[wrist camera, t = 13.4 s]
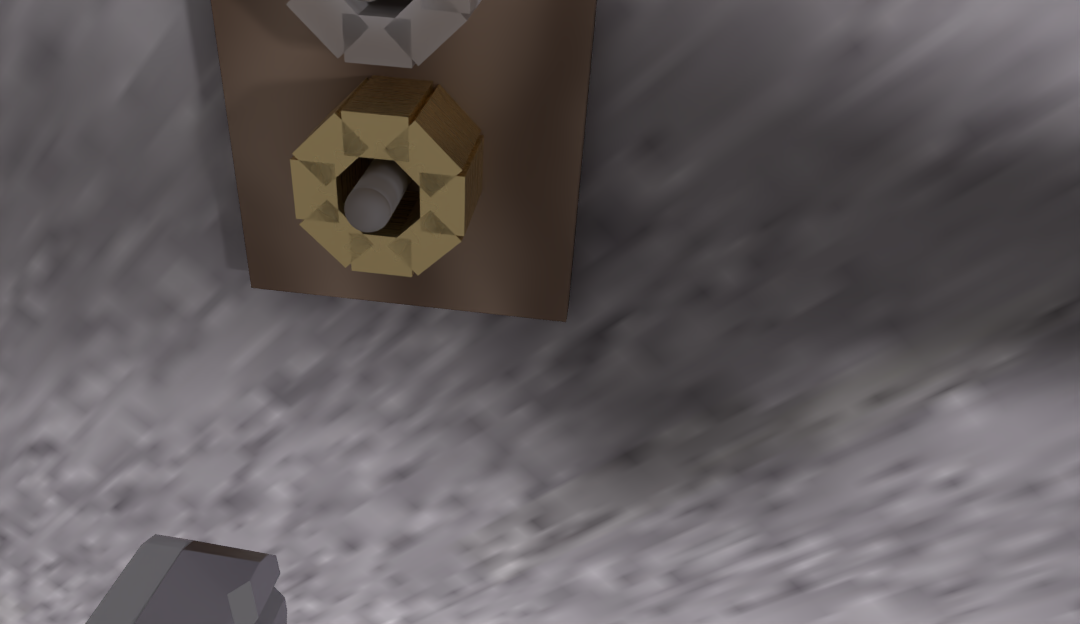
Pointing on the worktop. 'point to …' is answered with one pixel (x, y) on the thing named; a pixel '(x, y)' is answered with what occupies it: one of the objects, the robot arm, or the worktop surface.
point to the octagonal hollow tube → (418, 148)
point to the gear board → (494, 92)
